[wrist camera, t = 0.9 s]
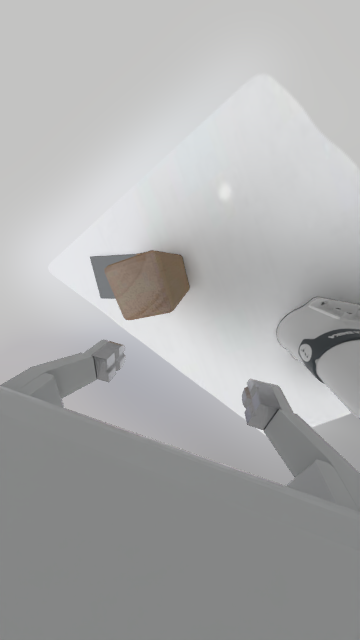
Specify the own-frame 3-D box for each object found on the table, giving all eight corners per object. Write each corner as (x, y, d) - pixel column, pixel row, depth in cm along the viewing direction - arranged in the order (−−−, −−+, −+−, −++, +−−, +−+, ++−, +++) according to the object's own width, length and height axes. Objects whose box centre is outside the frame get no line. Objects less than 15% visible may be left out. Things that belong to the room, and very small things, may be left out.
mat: (144, 253, 40) (141, 253, 38) (150, 298, 45) (147, 300, 43) (90, 256, 43) (85, 256, 41) (101, 298, 48) (97, 299, 46)
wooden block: (149, 263, 40) (99, 266, 22) (182, 253, 38) (154, 247, 20) (159, 297, 44) (123, 323, 26) (190, 289, 41) (174, 313, 23)
